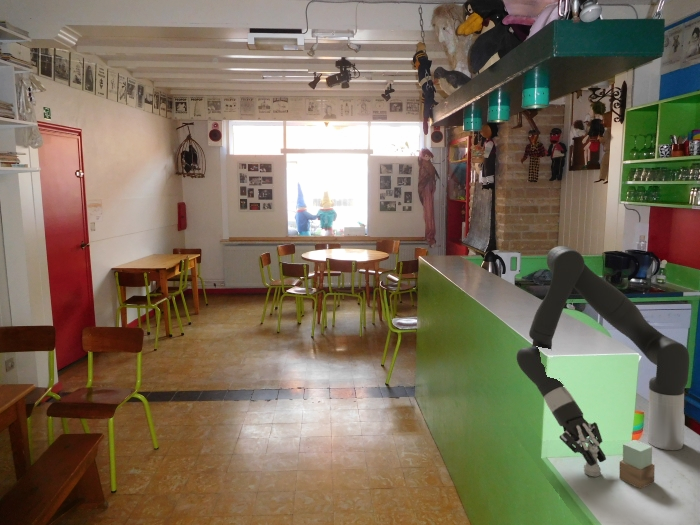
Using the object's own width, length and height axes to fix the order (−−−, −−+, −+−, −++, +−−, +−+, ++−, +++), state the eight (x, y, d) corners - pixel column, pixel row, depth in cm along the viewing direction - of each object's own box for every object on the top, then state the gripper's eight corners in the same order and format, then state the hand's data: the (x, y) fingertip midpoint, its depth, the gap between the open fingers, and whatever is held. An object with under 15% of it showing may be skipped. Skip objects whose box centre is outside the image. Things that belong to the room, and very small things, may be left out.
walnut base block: (633, 472, 146) (633, 455, 146) (654, 482, 141) (654, 464, 140) (619, 478, 144) (619, 461, 143) (640, 488, 138) (640, 470, 138)
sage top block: (634, 456, 145) (634, 439, 145) (651, 464, 141) (652, 446, 140) (622, 461, 143) (623, 444, 142) (640, 469, 138) (640, 451, 138)
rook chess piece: (602, 477, 144) (603, 450, 143) (585, 476, 145) (585, 449, 144) (598, 469, 148) (599, 442, 147) (581, 468, 149) (582, 442, 148)
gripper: (552, 405, 148) (589, 464, 139) (587, 395, 154) (624, 451, 145) (538, 417, 153) (572, 474, 144) (572, 406, 160) (607, 461, 150)
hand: (598, 462), depth 145 cm, fingers closed on rook chess piece, 3 cm apart
